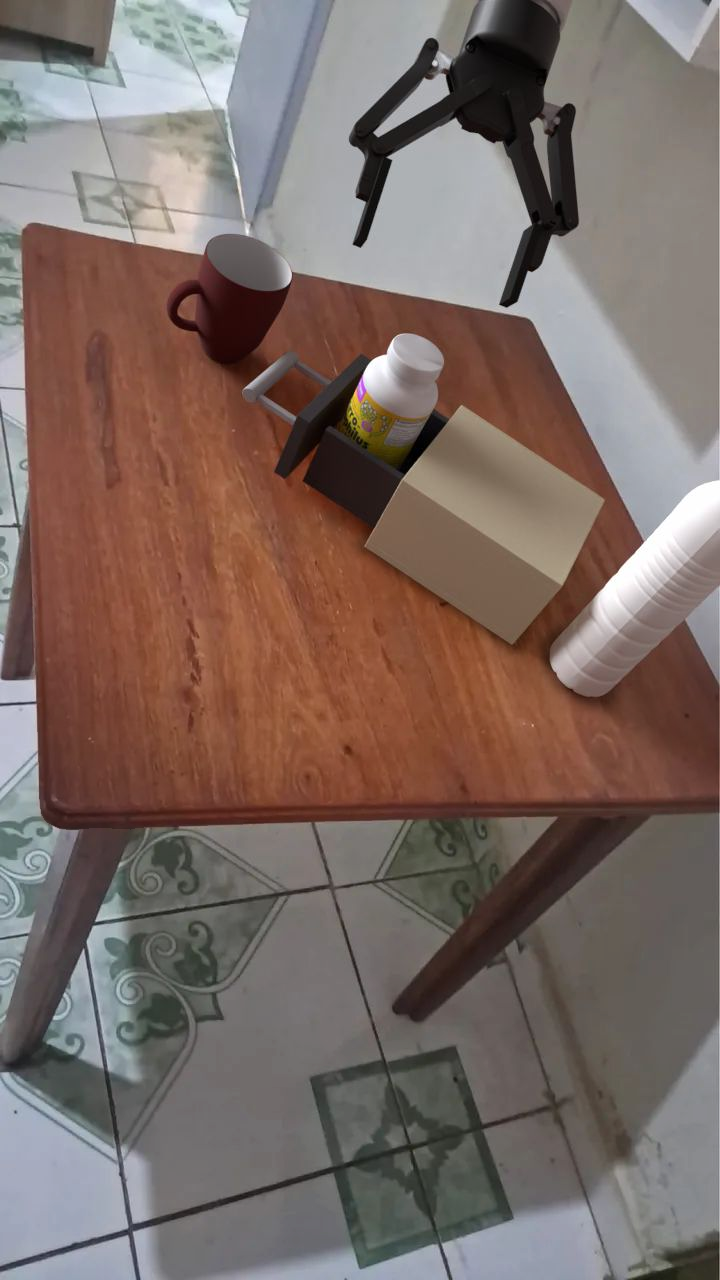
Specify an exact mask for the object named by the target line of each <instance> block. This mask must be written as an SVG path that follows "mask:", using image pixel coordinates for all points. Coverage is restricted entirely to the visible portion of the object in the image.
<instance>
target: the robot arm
mask: <svg viewBox="0 0 720 1280" xmlns="http://www.w3.org/2000/svg"><path fill="white" fill-rule="evenodd" d="M573 1H574V0H476V4H475V6H474V7H473V9H472V11H471V15H470V17H469V22H468V25H467V27H466V31H465V33H464V36H463V40H462V43H461V46H460V49H459V52H458V54H457V56H455V57H454V58H453V57H452V56H450V55H449V54H447V53H446V52H444V51H443V50H441V49H440V44H439V41H438V40H437V39H436V38H434V37H429V38H427V39H426V40H425V41H424V43H423V45H422V46H421V49H420V51H419V52H418V53H417V56H416V58H415V60H414V62H413V64H412V65H411V67H409V68H408V70H406V71H405V72H404V74H402V75H401V76H400V77H399V78H398V79H397V80H396V82H394V83H393V84H392V85H391V87H390V88H388V89H387V90H386V92H385V93H384V94H383V95H382V96H381V97H379V98H378V100H377V101H376V102H375V103H373V105H372V106H370V108H369V109H367V111H365V113H364V114H362V116H361V117H360V118H359V119H358V120H357V121H356V122H355V124H354V125H353V127H352V129H351V132H350V133H349V135H348V142H349V144H350V146H351V147H354V148H357V149H358V150H359V151H360V152H361V153H362V154H363V157H364V162H363V165H362V168H361V172H360V175H359V179H358V182H357V185H356V186H355V193H354V194H355V199H358V200H360V201H362V202H364V207H363V210H362V212H361V216H360V219H359V222H358V225H357V228H356V232H355V234H354V238H353V241H352V244H351V245H352V246H354V247H357V248H360V249H362V247H364V244H365V243H366V242H367V241H368V239H369V235H370V232H371V229H372V226H373V222H374V220H375V216H376V213H377V210H378V207H379V204H380V200H381V197H382V194H383V191H384V188H385V185H386V181H387V178H388V177H389V172H390V169H391V167H392V163H393V159H392V158H389V157H391V156H392V155H393V154H395V153H397V152H399V151H401V150H402V149H403V148H405V147H407V146H408V145H410V144H412V143H414V142H415V141H418V140H419V139H421V138H423V137H424V136H426V135H427V134H429V133H431V132H433V131H434V130H436V129H438V128H439V127H444V125H447V124H449V123H451V122H452V121H453V120H455V119H456V121H457V122H458V124H459V125H460V126H461V127H460V129H461V130H463V131H466V132H468V133H471V134H478V135H479V136H481V137H482V138H483V139H484V140H485V141H487V142H490V143H492V144H494V145H495V144H496V143H501V142H502V145H503V148H504V151H505V155H506V156H507V158H509V159H510V161H511V164H512V167H513V171H514V174H515V177H516V180H517V183H518V186H519V189H520V192H521V195H522V199H523V201H524V204H525V208H526V211H527V214H528V216H529V220H530V223H531V225H529V226H528V227H527V228H525V229H524V230H523V232H522V234H521V237H520V240H519V242H518V243H519V244H518V247H517V250H516V253H515V255H514V258H513V261H512V264H511V267H510V270H509V272H508V276H507V279H506V282H505V285H504V288H503V292H502V294H501V296H500V300H499V303H498V305H499V306H501V307H504V308H506V309H507V308H509V307H511V306H513V305H515V304H517V303H518V302H519V299H520V296H521V293H522V290H523V288H524V287H523V286H524V284H525V281H526V278H527V276H528V272H530V273H533V272H536V271H537V270H538V269H539V268H540V267H541V266H542V265H543V262H544V259H545V256H546V252H547V250H548V247H549V244H550V242H551V238H552V236H558V237H561V238H562V237H564V236H566V235H568V234H570V233H571V232H572V231H574V230H575V229H577V228H578V226H579V224H580V217H579V205H578V195H577V193H578V192H577V182H576V172H575V162H574V161H575V159H574V150H573V137H572V132H573V128H574V123H575V119H576V114H577V109H576V106H575V105H574V104H573V103H571V102H567V103H565V104H564V105H563V106H559V105H557V104H553V103H551V102H547V101H545V86H546V84H547V80H548V77H549V74H550V71H551V69H552V65H553V62H554V59H555V56H556V54H557V50H558V47H559V44H560V41H561V33H562V31H563V30H564V28H565V26H566V23H567V19H568V16H569V13H570V10H571V8H572V7H571V6H572V3H573ZM440 74H441V75H442V74H443V75H445V81H446V85H447V89H448V93H449V94H447V95H445V96H444V97H443V98H442V99H440V100H439V101H438V102H435V103H434V104H433V105H431V106H429V107H427V108H426V109H424V110H422V111H421V112H419V113H417V114H416V115H413V116H412V117H411V118H409V119H407V120H405V121H403V122H402V123H400V124H398V125H397V126H395V127H393V128H392V129H390V130H388V131H386V132H385V133H383V134H381V135H380V136H378V135H376V134H375V132H376V131H377V130H378V129H379V128H380V126H382V125H383V124H384V123H385V121H387V119H388V118H390V117H391V116H392V114H394V112H395V111H397V109H398V108H399V107H401V105H403V104H404V103H405V101H407V99H408V98H409V97H410V96H411V95H412V94H413V93H414V92H415V91H416V90H417V89H418V88H419V87H420V85H421V84H422V82H423V81H424V79H425V80H428V81H432V80H434V79H436V78H437V76H438V75H440ZM536 119H539V120H540V121H541V123H542V129H543V134H544V135H546V136H547V139H546V154H547V155H546V156H547V164H548V175H549V185H550V191H549V188H548V185H547V182H546V178H545V176H544V172H543V169H542V166H541V163H540V159H539V156H538V154H537V150H536V147H535V135H534V131H533V128H532V124H531V123H533V122H534V121H536Z"/></svg>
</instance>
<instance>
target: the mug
mask: <svg viewBox="0 0 720 1280" xmlns="http://www.w3.org/2000/svg"><path fill="white" fill-rule="evenodd" d="M199 265H200V266H199V270H198V275H197V279H187V280H184V281H181V282H180V283H178V284H177V285H176V286H175V287H174V288H173V289H172V290H171V291H170V292H169V295H168V296H167V301H166V314H167V317H168V319H169V320H170V322H171V323H172V324H173V325H174V326H175V327H177V328H179V329H180V330H183V331H187V332H192V333H194V332H195V333H197V336H198V339H199V342H200V346H201V348H202V350H203V352H204V354H205V355H206V356H207V357H208V358H210V359H211V360H212V361H214V362H217V363H219V364H224V365H234V364H238V363H240V362H241V361H243V360H244V359H245V358H247V357H248V356H249V355H250V354H252V353H253V352H254V351H255V350H256V349H257V348H259V346H260V345H261V344H262V342H263V341H264V339H265V337H266V336H267V334H268V333H269V330H270V329H271V328H272V326H273V324H274V323H275V321H276V320H277V317H278V316H279V314H280V312H281V311H282V309H283V306H284V305H285V303H286V300H287V296H288V294H289V291H290V288H291V285H292V281H293V277H294V275H293V269H292V268H291V267H292V266H291V265H290V264H289V262H288V260H287V259H286V257H284V256H283V255H282V254H281V253H280V251H278V250H277V249H275V248H274V247H272V246H271V245H269V244H267V243H266V242H264V241H262V240H260V239H257V238H254V237H251V236H248V235H244V234H238V233H223V234H219V235H216V236H214V237H212V238H211V239H210V240H208V242H207V243H206V246H205V248H204V252H203V255H202V258H201V261H200V264H199ZM193 295H196V302H195V303H196V304H195V313H194V314H195V316H194V320H190V319H187V318H183V317H181V316H180V315H179V313H178V312H179V311H178V310H179V308H180V305H181V303H182V302H183V301H184V300H185V299H186V298H188V297H190V296H193Z"/></svg>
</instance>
